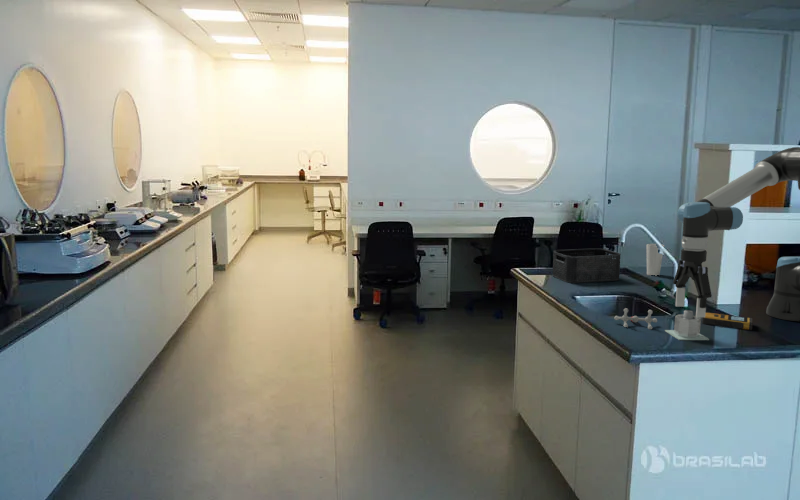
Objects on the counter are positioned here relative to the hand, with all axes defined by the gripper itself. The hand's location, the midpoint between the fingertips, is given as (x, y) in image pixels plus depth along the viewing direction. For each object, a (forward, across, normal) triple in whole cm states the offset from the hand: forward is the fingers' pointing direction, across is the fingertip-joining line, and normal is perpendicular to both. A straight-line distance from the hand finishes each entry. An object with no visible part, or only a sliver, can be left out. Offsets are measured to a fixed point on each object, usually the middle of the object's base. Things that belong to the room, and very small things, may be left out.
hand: (689, 311), depth 196 cm
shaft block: (+8, 0, -1) cm, 8 cm away
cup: (+10, -102, +34) cm, 108 cm away
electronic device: (+10, -13, +21) cm, 27 cm away
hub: (+8, 0, -1) cm, 8 cm away
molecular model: (+9, -12, -12) cm, 20 cm away
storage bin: (+9, -94, -4) cm, 94 cm away
